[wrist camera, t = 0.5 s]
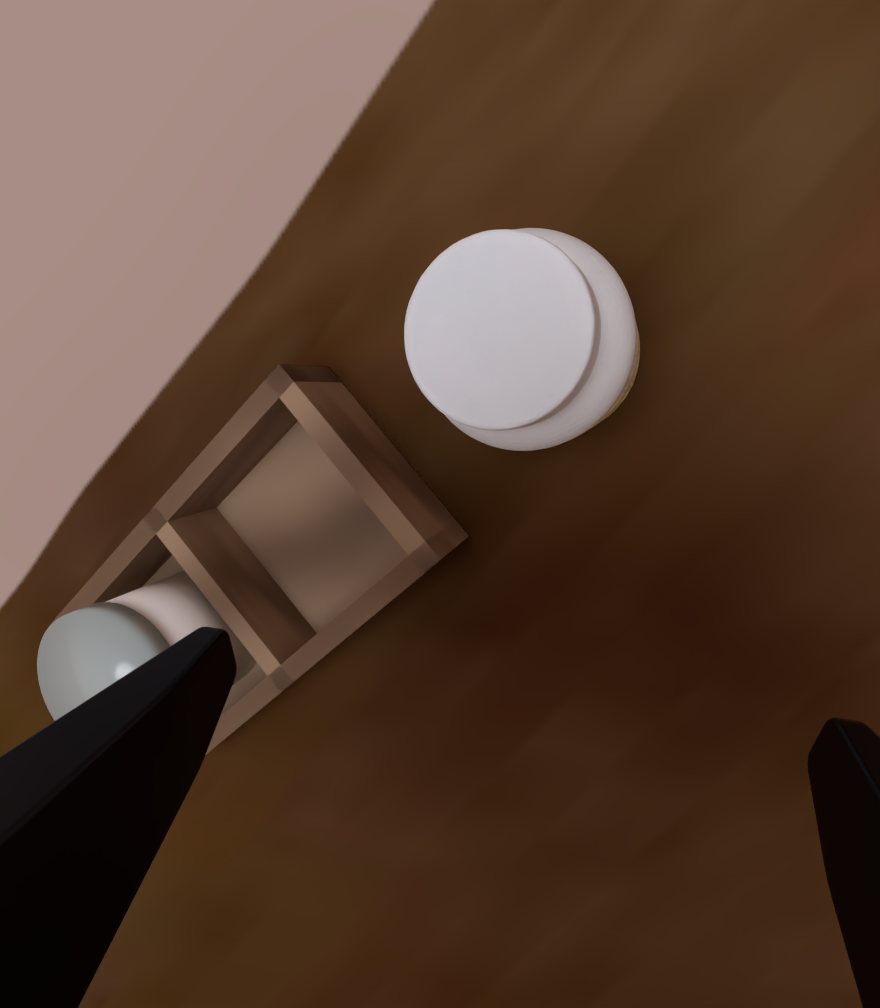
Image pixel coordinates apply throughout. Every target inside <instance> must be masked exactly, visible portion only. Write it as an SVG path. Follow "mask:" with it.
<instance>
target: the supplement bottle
mask: <svg viewBox="0 0 880 1008" xmlns="http://www.w3.org/2000/svg"><path fill="white" fill-rule="evenodd" d="M404 340H405V351H406V356H407V360H408V364H409V367H410V370H411V373H412V375H413V377H414V380H415V381H416V383H417V385H418V387H419V388H420V390H421V391H422V393H423V394H424V395H425V397H426V398H427V399H428V400H429V401H430V402H431V403H432V404H433V405H434V406H435V407H436V408H437V409H438V410H439V411H440V412H442V413H443V414H444V415H445V416H446V417H447V418H448V419H449V420H450V421H451V422H452V423H453V424H454V425H455V426H456V427H458V428H459V429H460V430H461V431H463V432H464V433H465V434H467V435H468V436H470V437H472V438H474V439H476V440H478V441H480V442H482V443H484V444H487V445H490V446H493V447H496V448H500V449H506V450H514V451H532V450H540V449H545V448H550V447H553V446H557V445H559V444H562V443H564V442H567V441H569V440H572V439H574V438H576V437H577V436H579V435H581V434H583V433H584V432H586V431H587V430H589V429H591V428H592V427H594V426H596V425H597V424H599V423H600V422H602V421H603V420H604V419H606V418H607V417H608V416H610V415H611V414H612V413H613V412H614V411H615V410H616V409H617V408H618V407H619V406H620V404H621V403H622V402H623V400H624V399H625V397H626V396H627V394H628V393H629V391H630V389H631V387H632V385H633V383H634V380H635V378H636V374H637V371H638V366H639V359H640V339H639V333H638V328H637V324H636V319H635V314H634V310H633V306H632V303H631V300H630V297H629V295H628V292H627V290H626V288H625V286H624V284H623V282H622V280H621V278H620V277H619V275H618V274H617V272H616V271H615V269H614V268H613V267H612V266H611V265H610V263H609V262H608V261H607V260H606V259H605V258H604V257H603V256H602V255H601V254H600V253H598V252H597V251H596V250H595V249H593V248H592V247H591V246H589V245H588V244H586V243H585V242H583V241H581V240H579V239H577V238H575V237H573V236H570V235H568V234H565V233H562V232H558V231H555V230H549V229H542V228H523V229H514V230H508V229H502V230H489V231H483V232H480V233H477V234H474V235H471V236H469V237H467V238H464V239H462V240H460V241H458V242H457V243H455V244H453V245H452V246H450V247H449V248H448V249H446V250H445V251H444V252H442V253H441V254H440V255H439V256H438V257H437V258H436V259H435V260H434V261H433V262H432V263H431V264H430V266H429V267H428V268H427V269H426V271H425V272H424V273H423V274H422V276H421V278H420V280H419V281H418V283H417V285H416V287H415V289H414V292H413V294H412V296H411V299H410V302H409V305H408V308H407V312H406V318H405V325H404Z"/></svg>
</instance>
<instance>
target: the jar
mask: <svg viewBox="0 0 880 1008" xmlns="http://www.w3.org/2000/svg"><path fill="white" fill-rule="evenodd" d="M201 627H213V628H220V629H224V630H226V631H227V632H228V633H229V636H230V640H231V644H232V648H233V652H234V656H235V660H236V665H237V671H236V676H235V680H234V682H233V685H234V684H235V683H237V682H238V681H239V680H241V679H242V678H243V677H245V676H246V675H247V674H248V673H249V672H250V671H251V670H252V669H253V667H254V666H255V664H256V660H255V659H254V658H253V657H252V655H251V654H250V653H249V651H248V650H247V649H246V648H245V646H244V645H243V644H242V643H241V641H240V640H239V639H238V638H237V636H236V635H235V634H234V632H233V631H232V630H231V629H230V627H229V626H228V625H227V624H226V622H225V621H224V620H223V618H222V617H221V616H220V615H219V613H218V612H217V611H216V610H215V608H214V607H213V606H212V604H211V603H210V602H209V601H208V599H207V598H206V597H205V596H204V594H203V593H202V592H201V590H200V589H199V588H198V587H197V585H196V584H195V583H194V582H193V580H192V579H191V578H190V577H189V575H188V574H187V573H186V571H185V570H184V571H182V572H179V573H177V574H174V575H172V576H169V577H166V578H164V579H161V580H159V581H156V582H154V583H151V584H149V585H146V586H144V587H141V588H139V589H136V590H134V591H131V592H129V593H126V594H124V595H121V596H119V597H116V598H114V599H111V600H108V601H106V602H99V603H94V604H91V605H88V606H86V607H83V608H81V609H78V610H76V611H73V612H71V613H68V614H66V615H63V616H61V617H60V618H58V619H57V620H55V621H54V622H53V623H52V624H51V625H50V626H49V628H48V629H47V630H46V632H45V634H44V636H43V638H42V640H41V643H40V646H39V651H38V659H37V672H38V679H39V685H40V689H41V692H42V695H43V698H44V701H45V703H46V705H47V708H48V710H49V712H50V713H51V715H52V717H53V719H54V720H57V719H59V718H60V717H62V716H63V715H65V714H66V713H68V712H69V711H71V710H72V709H74V708H76V707H77V706H79V705H80V704H82V703H83V702H85V701H86V700H88V699H90V698H91V697H93V696H94V695H96V694H97V693H99V692H100V691H102V690H103V689H105V688H107V687H108V686H110V685H111V684H113V683H114V682H116V681H117V680H119V679H120V678H122V677H124V676H125V675H127V674H128V673H130V672H131V671H133V670H134V669H136V668H137V667H139V666H141V665H142V664H144V663H145V662H147V661H148V660H150V659H151V658H153V657H154V656H156V655H158V654H159V653H161V652H162V651H164V650H165V649H167V648H168V647H170V646H172V645H173V644H175V643H176V642H178V641H179V640H181V639H182V638H184V637H185V636H187V635H189V634H190V633H192V632H193V631H195V630H196V629H198V628H201Z"/></svg>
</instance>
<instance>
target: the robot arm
mask: <svg viewBox="0 0 880 1008" xmlns="http://www.w3.org/2000/svg"><path fill="white" fill-rule="evenodd" d="M236 671H237V665H236V660H235V656H234V652H233V648H232V644H231V640H230V636H229V633H228V632H227V631H226V630H224V629H220V628H213V627H201V628H198V629H196V630H195V631H193V632H192V633H190V634H189V635H187V636H185V637H184V638H182V639H181V640H179V641H178V642H176V643H175V644H173V645H172V646H170V647H168V648H167V649H165V650H164V651H162V652H161V653H159V654H158V655H156V656H154V657H153V658H151V659H150V660H148V661H147V662H145V663H144V664H142V665H141V666H139V667H137V668H136V669H134V670H133V671H131V672H130V673H128V674H127V675H125V676H124V677H122V678H120V679H119V680H117V681H116V682H114V683H113V684H111V685H110V686H108V687H107V688H105V689H103V690H102V691H100V692H99V693H97V694H96V695H94V696H93V697H91V698H90V699H88V700H86V701H85V702H83V703H82V704H80V705H79V706H77V707H76V708H74V709H72V710H71V711H69V712H68V713H66V714H65V715H63V716H62V717H60V718H59V719H57V720H55V721H54V722H52V723H51V724H49V725H48V726H46V727H45V728H43V729H42V730H40V731H38V732H37V733H35V734H34V735H32V736H31V737H29V738H28V739H26V740H25V741H23V742H21V743H20V744H18V745H17V746H15V747H14V748H12V749H11V750H9V751H7V752H6V753H4V754H3V755H1V756H0V1008H78V1006H79V1004H80V1002H81V1000H82V999H83V997H84V995H85V993H86V991H87V989H88V987H89V985H90V983H91V981H92V979H93V977H94V975H95V973H96V971H97V969H98V967H99V965H100V963H101V961H102V959H103V957H104V955H105V953H106V952H107V950H108V948H109V946H110V944H111V942H112V940H113V938H114V936H115V934H116V932H117V930H118V928H119V926H120V924H121V922H122V920H123V918H124V916H125V914H126V912H127V910H128V908H129V906H130V905H131V903H132V901H133V899H134V897H135V895H136V893H137V891H138V889H139V887H140V885H141V883H142V881H143V879H144V877H145V875H146V873H147V871H148V869H149V867H150V865H151V863H152V861H153V859H154V858H155V856H156V854H157V852H158V850H159V848H160V846H161V844H162V842H163V840H164V838H165V836H166V834H167V832H168V830H169V828H170V826H171V824H172V822H173V820H174V818H175V816H176V814H177V812H178V811H179V809H180V807H181V805H182V803H183V801H184V799H185V797H186V795H187V793H188V791H189V789H190V787H191V785H192V783H193V781H194V779H195V777H196V775H197V773H198V771H199V769H200V767H201V764H202V762H203V759H204V757H205V755H206V752H207V750H208V747H209V745H210V742H211V739H212V737H213V734H214V732H215V729H216V726H217V724H218V721H219V719H220V716H221V713H222V711H223V708H224V706H225V703H226V700H227V698H228V695H229V693H230V690H231V688H232V685H233V682H234V680H235V676H236ZM808 773H809V778H810V784H811V790H812V796H813V802H814V808H815V814H816V820H817V825H818V831H819V837H820V843H821V849H822V855H823V861H824V866H825V871H826V876H827V881H828V885H829V889H830V892H831V896H832V900H833V904H834V907H835V911H836V914H837V918H838V921H839V925H840V928H841V932H842V935H843V939H844V942H845V946H846V949H847V953H848V957H849V960H850V964H851V967H852V971H853V974H854V978H855V981H856V985H857V988H858V992H859V995H860V999H861V1002H862V1006H863V1008H880V737H879V736H878V735H877V734H876V733H875V732H874V731H873V730H872V729H871V728H869V727H868V726H867V725H865V724H864V723H862V722H859V721H854V720H847V719H840V718H831V719H829V720H828V721H827V722H826V723H825V724H824V726H823V728H822V730H821V732H820V734H819V736H818V737H817V739H816V741H815V743H814V745H813V747H812V748H811V750H810V753H809V756H808Z"/></svg>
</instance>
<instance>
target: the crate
mask: <svg viewBox="0 0 880 1008" xmlns="http://www.w3.org/2000/svg"><path fill="white" fill-rule="evenodd" d="M468 536H469V535H468V534H467V533H466V532H465V531H464V529H463V528H462V527H461V526H460V525H459V523H458V522H457V521H456V520H455V518H454V517H453V516H452V515H451V514H450V512H449V511H448V510H447V509H446V508H445V506H444V505H443V504H442V503H441V502H440V500H439V499H438V498H437V497H436V496H435V494H434V493H433V492H432V491H431V490H430V488H429V487H428V486H427V485H426V484H425V482H424V481H423V480H422V479H421V478H420V476H419V475H418V474H417V473H416V472H415V470H414V469H413V468H412V467H411V466H410V464H409V463H408V462H407V461H406V460H405V458H404V457H403V456H402V455H401V454H400V452H399V451H398V450H397V449H396V448H395V446H394V445H393V444H392V443H391V442H390V440H389V439H388V438H387V437H386V436H385V434H384V433H383V432H382V431H381V429H380V428H379V427H378V426H377V425H376V423H375V422H374V421H373V420H372V419H371V417H370V416H369V415H368V414H367V413H366V411H365V410H364V409H363V408H362V407H361V405H360V404H359V403H358V402H357V401H356V399H355V398H354V397H353V396H352V395H351V393H350V392H349V391H348V390H347V389H346V387H345V386H344V385H343V384H342V383H341V381H340V380H339V379H338V378H337V377H336V375H335V374H334V373H333V372H332V371H331V369H330V368H329V367H319V366H304V365H288V364H279V365H278V366H277V367H276V368H275V369H274V370H273V371H272V372H271V374H270V375H269V376H268V377H267V378H266V379H265V380H264V382H263V383H262V384H261V385H260V386H259V387H258V388H257V390H256V391H255V392H254V393H253V394H252V395H251V396H250V398H249V399H248V400H247V401H246V402H245V403H244V404H243V405H242V407H241V408H240V409H239V410H238V411H237V412H236V413H235V415H234V416H233V417H232V418H231V419H230V420H229V421H228V423H227V424H226V425H225V426H224V427H223V428H222V429H221V431H220V432H219V433H218V434H217V435H216V436H215V437H214V438H213V440H212V441H211V442H210V443H209V444H208V445H207V446H206V448H205V449H204V450H203V451H202V452H201V453H200V454H199V456H198V457H197V458H196V459H195V460H194V461H193V462H192V463H191V465H190V466H189V467H188V468H187V469H186V470H185V471H184V473H183V474H182V475H181V476H180V477H179V478H178V479H177V481H176V482H175V483H174V484H173V485H172V486H171V487H170V489H169V490H168V491H167V492H166V493H165V494H164V495H163V496H162V498H161V499H160V500H159V501H158V502H157V503H156V504H155V506H154V507H153V508H152V509H151V510H150V511H149V512H148V514H147V515H146V516H145V517H144V518H143V519H142V520H141V522H140V523H139V524H138V525H137V526H136V527H135V528H134V529H133V531H132V532H131V533H130V534H129V535H128V536H127V537H126V539H125V540H124V541H123V542H122V543H121V544H120V545H119V547H118V548H117V549H116V550H115V551H114V552H113V553H112V554H111V556H110V557H109V558H108V559H107V560H106V561H105V562H104V564H103V565H102V566H101V567H100V568H99V569H98V570H97V572H96V573H95V574H94V575H93V576H92V577H91V578H90V580H89V581H88V582H87V583H86V584H85V585H84V586H83V587H82V589H81V590H80V591H79V592H78V593H77V594H76V595H75V597H74V598H73V599H72V600H71V601H70V602H69V603H68V605H67V606H66V607H65V608H64V609H63V610H62V611H61V613H60V614H59V615H58V616H57V617H56V618H55V619H54V620H53V622H54V621H55V620H57V619H58V618H60V617H61V616H63V615H66V614H68V613H71V612H73V611H76V610H78V609H81V608H83V607H86V606H88V605H91V604H94V603H99V602H106V601H108V600H111V599H114V598H116V597H119V596H121V595H124V594H126V593H129V592H131V591H134V590H136V589H139V588H141V587H144V586H146V585H149V584H151V583H154V582H156V581H159V580H161V579H164V578H166V577H169V576H172V575H174V574H177V573H179V572H182V571H184V570H185V571H186V573H187V574H188V575H189V577H190V578H191V579H192V580H193V582H194V583H195V584H196V585H197V587H198V588H199V589H200V590H201V592H202V593H203V594H204V596H205V597H206V598H207V599H208V601H209V602H210V603H211V604H212V606H213V607H214V608H215V610H216V611H217V612H218V613H219V615H220V616H221V617H222V618H223V620H224V621H225V622H226V624H227V625H228V626H229V627H230V629H231V630H232V631H233V632H234V634H235V635H236V636H237V638H238V639H239V640H240V641H241V643H242V644H243V645H244V646H245V648H246V649H247V650H248V651H249V653H250V654H251V655H252V657H253V658H254V659H255V660H256V664H255V666H254V667H253V669H252V670H251V671H250V672H249V673H248V674H247V675H246V676H245V677H243V678H242V679H241V680H239V681H238V682H237V683H235V684H234V685H232V688H231V690H230V693H229V695H228V698H227V700H226V703H225V706H224V708H223V711H222V713H221V716H220V719H219V721H218V724H217V726H216V729H215V732H214V734H213V737H212V739H211V742H210V745H209V747H208V750H207V752H206V754H207V753H208V752H210V751H211V750H212V749H213V748H214V747H216V746H217V745H218V744H219V743H220V742H222V741H223V740H224V739H225V738H227V737H228V736H229V735H230V734H231V733H233V732H234V731H235V730H236V729H237V728H239V727H240V726H241V725H242V724H243V723H245V722H246V721H247V720H248V719H249V718H251V717H252V716H253V715H254V714H255V713H257V712H258V711H259V710H260V709H261V708H263V707H264V706H265V705H266V704H267V703H269V702H270V701H271V700H272V699H274V698H275V697H276V696H277V695H278V694H280V693H281V692H282V691H283V690H284V689H286V688H287V687H288V686H289V685H290V684H292V683H293V682H294V681H295V680H296V679H298V678H299V677H300V676H301V675H302V674H304V673H305V672H306V671H307V670H308V669H310V668H311V667H312V666H313V665H314V664H316V663H317V662H318V661H319V660H321V659H322V658H323V657H324V656H325V655H327V654H328V653H329V652H330V651H331V650H333V649H334V648H335V647H336V646H337V645H339V644H340V643H341V642H342V641H343V640H345V639H346V638H347V637H348V636H349V635H351V634H352V633H353V632H354V631H355V630H357V629H358V628H359V627H360V626H361V625H363V624H364V623H365V622H366V621H368V620H369V619H370V618H371V617H372V616H374V615H375V614H376V613H377V612H378V611H380V610H381V609H382V608H383V607H384V606H386V605H387V604H388V603H389V602H390V601H392V600H393V599H394V598H395V597H396V596H398V595H399V594H400V593H401V592H402V591H404V590H405V589H406V588H407V587H408V586H410V585H411V584H412V583H413V582H415V581H416V580H417V579H418V578H419V577H421V576H422V575H423V574H424V573H425V572H427V571H428V570H429V569H430V568H431V567H433V566H434V565H435V564H436V563H437V562H439V561H440V560H441V559H442V558H443V557H445V556H446V555H447V554H448V553H449V552H451V551H452V550H453V549H454V548H455V547H457V546H458V545H459V544H460V543H461V542H462V541H464V540H465V539H466V538H467V537H468ZM53 622H52V623H53ZM52 623H51V624H52ZM51 624H50V625H51ZM50 625H49V626H50ZM49 626H48V627H47V628H49Z"/></svg>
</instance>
